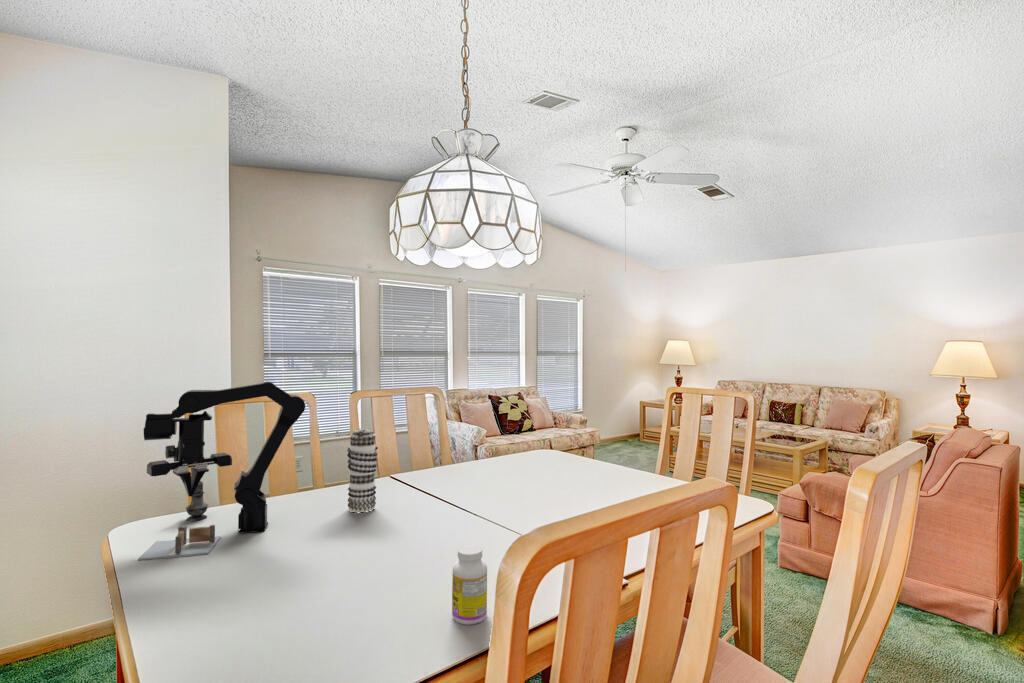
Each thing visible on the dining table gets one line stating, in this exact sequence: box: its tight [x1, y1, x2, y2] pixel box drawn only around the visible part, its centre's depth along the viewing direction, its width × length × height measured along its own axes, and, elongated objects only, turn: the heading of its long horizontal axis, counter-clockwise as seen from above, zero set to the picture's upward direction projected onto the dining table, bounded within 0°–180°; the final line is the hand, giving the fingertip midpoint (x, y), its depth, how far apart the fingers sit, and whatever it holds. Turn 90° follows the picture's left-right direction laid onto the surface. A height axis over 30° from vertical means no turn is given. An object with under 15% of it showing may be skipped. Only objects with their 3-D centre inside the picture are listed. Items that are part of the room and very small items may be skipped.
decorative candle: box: [347, 428, 379, 513], centre depth 163 cm, size 9×9×25 cm
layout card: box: [137, 535, 222, 561], centre depth 130 cm, size 15×11×1 cm
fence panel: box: [174, 531, 184, 553], centre depth 128 cm, size 6×1×4 cm, turn 25°
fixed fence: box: [177, 524, 216, 545], centre depth 133 cm, size 8×2×5 cm, turn 106°
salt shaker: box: [185, 480, 209, 522], centre depth 153 cm, size 6×6×12 cm
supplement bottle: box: [451, 544, 488, 626], centre depth 99 cm, size 7×7×13 cm
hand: (190, 496), depth 138 cm, fingers closed
